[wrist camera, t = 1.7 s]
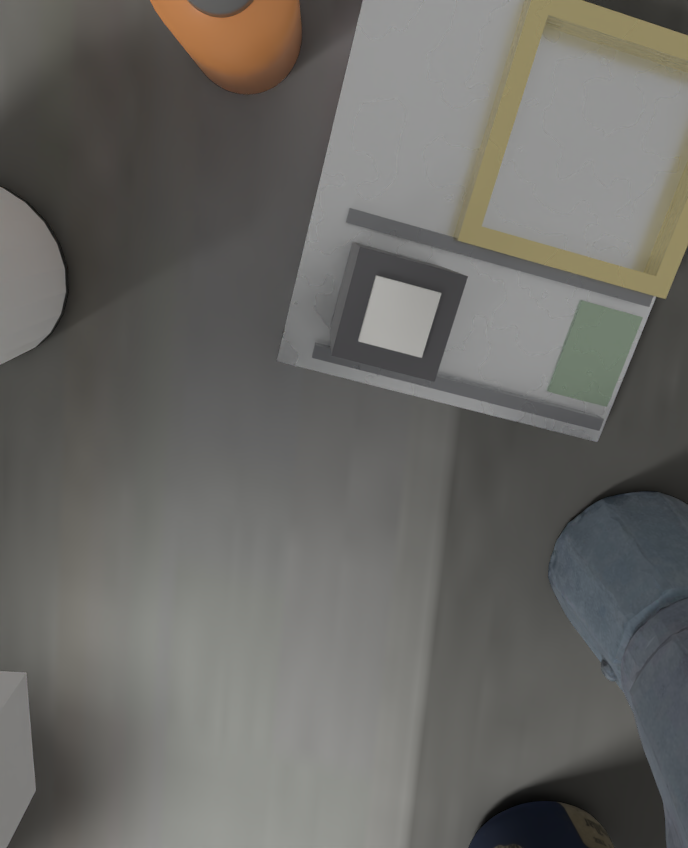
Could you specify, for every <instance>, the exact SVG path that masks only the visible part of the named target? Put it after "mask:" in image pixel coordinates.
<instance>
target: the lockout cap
mask: <svg viewBox="0 0 688 848" xmlns="http://www.w3.org/2000/svg"><path fill="white" fill-rule="evenodd" d="M150 1H151V3H152V5H153V7H154V9H155V11H156V12H157V14H158V15H159V17H160V18H161V20H162V21H163V22H164V24H165V25H166V26H167V27H168V29H169V30H170V31H171V32H172V34H173V35H174V36H175V37H176V39H177V40H178V41H179V42H180V44H181V45H182V46H183V47H184V49H185V50H186V51H187V53H188V54H189V55H190V56H191V58H192V59H193V60H194V61H195V63H196V64H197V65H198V66H199V68H200V69H201V70H202V71H203V72H204V74H205V75H206V76H207V77H208V78H209V79H210V80H211V81H212V82H214V83H215V84H217V85H218V86H220V87H222V88H223V89H225V90H228V91H231V92H234V93H238V94H257V93H261V92H264V91H267V90H269V89H271V88H273V87H275V86H276V85H277V84H279V83H280V82H281V81H282V80H283V79H284V78H285V77H286V76H287V75H288V74H289V72H290V71H291V70H292V68H293V66H294V64H295V62H296V60H297V58H298V55H299V51H300V48H301V41H302V23H301V13H300V4H299V0H150Z"/></svg>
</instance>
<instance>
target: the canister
mask: <svg viewBox="0 0 688 848" xmlns="http://www.w3.org/2000/svg"><path fill="white" fill-rule="evenodd" d="M469 848H614V846H613V844H612V841H611V839H610V837H609V836H608V834H607V832H606V831H605V829H604V828H603V827H602V825H601V824H600V823H599V822H598V821H597V820H596V819H595V818H593V817H592V816H591V815H590V814H589V813H588V812H586V811H585V810H582V809H580V808H577V807H575V806H572V805H569V804H565V803H561V802H552V801H536V802H530V803H524V804H520V805H517V806H514V807H511V808H509V809H507V810H505V811H502V812H501V813H499V814H497V815H495V816H494V817H492V818H491V819H490V820H489V821H488V822H486V823H485V824H484V825H483V826H482V827H481V828H480V829H479V830H478V831H477V833H476V834H475V836H474V837H473V839H472V841H471V843H470V845H469Z"/></svg>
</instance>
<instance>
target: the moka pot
mask: <svg viewBox="0 0 688 848" xmlns="http://www.w3.org/2000/svg"><path fill="white" fill-rule="evenodd" d="M548 578H549V581H550V584H551V587H552V589H553V591H554V593H555V595H556V598H557V600H558V601H559V603H560V605H561V607H562V609H563V611H564V613H565V614H566V616H567V617H568V619H569V620H570V622H571V623H572V625H573V626H574V627H575V629H576V630H577V631H578V632H579V634H580V635H581V636H582V638H583V639H584V641H585V642H586V643H587V645H588V646H589V647H590V649H591V650H592V651H593V653H594V654H595V655H596V656H597V658H598V659H599V660H600V662H601V670H602V673H603V674H604V675H605V677H606V678H607V679H608V680H610V681H616V683H617V684H618V686H619V687H620V688H621V690H622V691H623V692H624V694H625V696H626V698H627V701H628V703H629V705H630V707H631V709H632V711H633V713H634V716H635V721H636V724H637V728H638V732H639V735H640V739H641V742H642V746H643V749H644V752H645V754H646V757H647V759H648V762H649V765H650V767H651V770H652V773H653V775H654V778H655V781H656V784H657V787H658V789H659V792H660V794H661V797H662V800H663V806H664V813H665V828H666V846H667V848H688V504H686V503H684V502H682V501H681V500H679V499H677V498H674V497H672V496H670V495H666V494H663V493H660V492H653V491H642V492H633V493H626V494H620V495H615V496H612V497H606V498H604V499H602V500H600V501H597V502H596V503H594V504H593V505H591V506H589V507H588V508H587V509H585V510H584V511H583V512H582V513H581V514H579V515H578V516H577V517H576V518H575V519H573V520H572V521H571V522H569V523H568V524H567V526H566V527H565V529H564V530H563V531H562V533H561V535H560V537H559V538H558V539H557V541H556V543H555V547H554V550H553V553H552V555H551V560H550V562H549V570H548Z"/></svg>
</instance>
